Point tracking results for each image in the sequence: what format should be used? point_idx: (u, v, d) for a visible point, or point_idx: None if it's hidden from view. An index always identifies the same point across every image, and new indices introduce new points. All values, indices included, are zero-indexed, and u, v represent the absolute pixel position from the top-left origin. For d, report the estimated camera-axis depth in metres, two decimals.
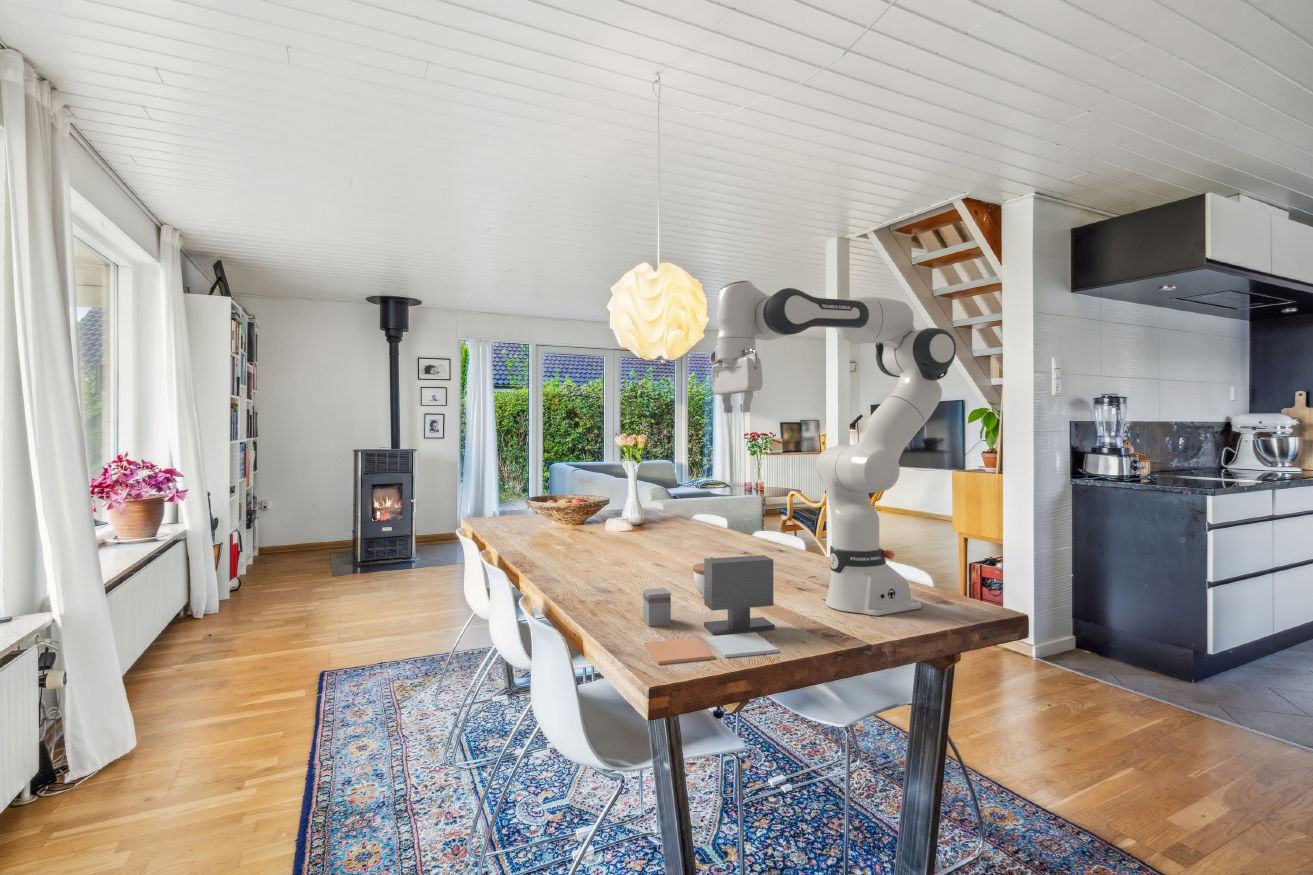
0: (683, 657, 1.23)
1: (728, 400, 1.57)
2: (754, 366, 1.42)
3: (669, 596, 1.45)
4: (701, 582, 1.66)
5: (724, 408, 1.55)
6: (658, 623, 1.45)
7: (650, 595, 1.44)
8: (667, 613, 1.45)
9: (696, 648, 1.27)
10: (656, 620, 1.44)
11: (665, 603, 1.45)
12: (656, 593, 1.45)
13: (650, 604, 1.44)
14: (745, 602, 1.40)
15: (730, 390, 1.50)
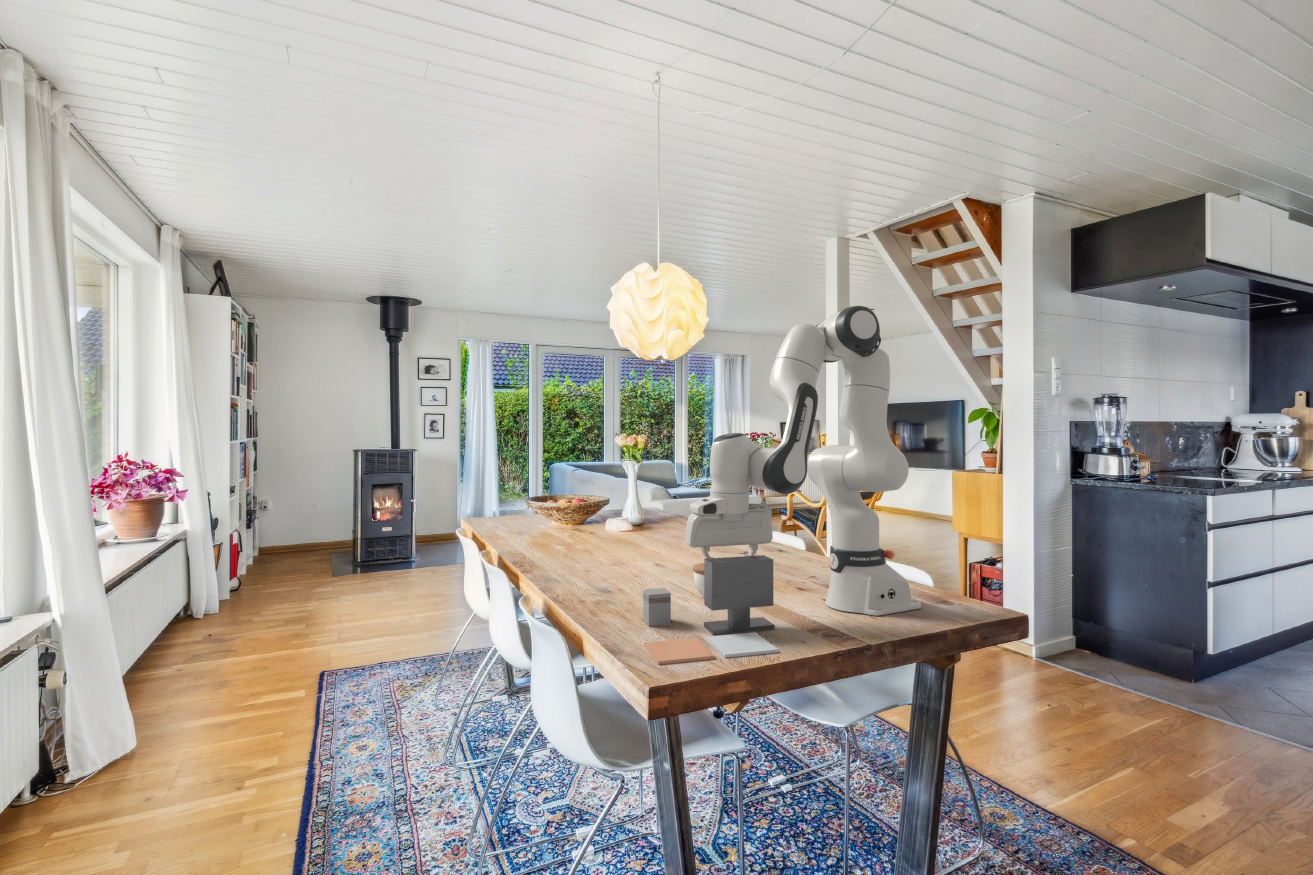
0: (683, 657, 1.23)
1: None
2: None
3: (669, 596, 1.45)
4: (701, 582, 1.66)
5: None
6: (658, 623, 1.45)
7: (650, 595, 1.44)
8: (667, 613, 1.45)
9: (696, 648, 1.27)
10: (656, 620, 1.44)
11: (665, 603, 1.45)
12: (656, 593, 1.45)
13: (650, 604, 1.44)
14: (745, 602, 1.40)
15: (735, 543, 1.49)
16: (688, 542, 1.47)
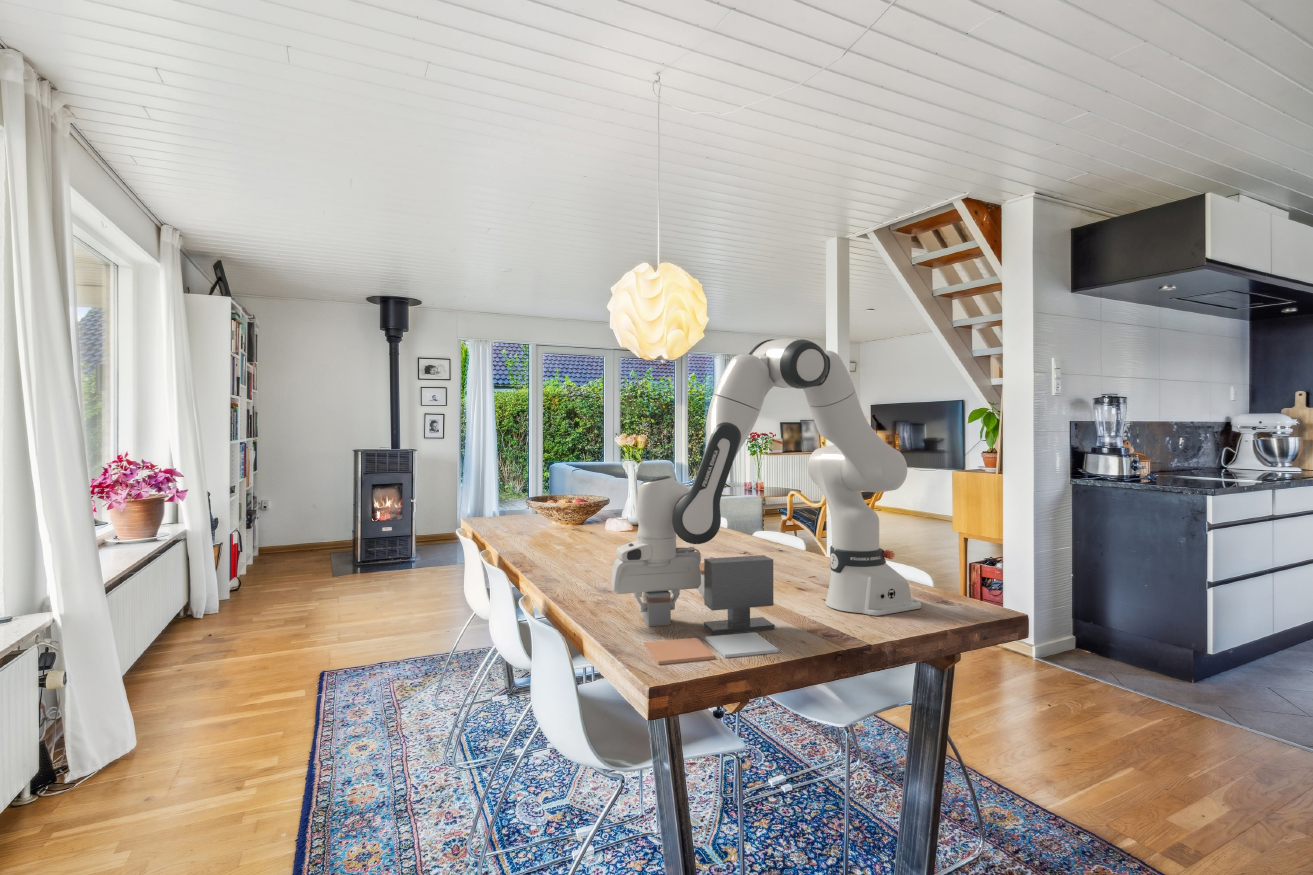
0: (683, 657, 1.23)
1: None
2: None
3: (669, 596, 1.45)
4: (701, 582, 1.66)
5: (643, 607, 1.45)
6: (658, 623, 1.45)
7: (650, 595, 1.44)
8: (667, 613, 1.45)
9: (696, 648, 1.27)
10: (656, 619, 1.44)
11: (664, 603, 1.45)
12: (656, 593, 1.45)
13: (650, 604, 1.44)
14: (745, 602, 1.40)
15: (661, 589, 1.45)
16: (613, 588, 1.44)
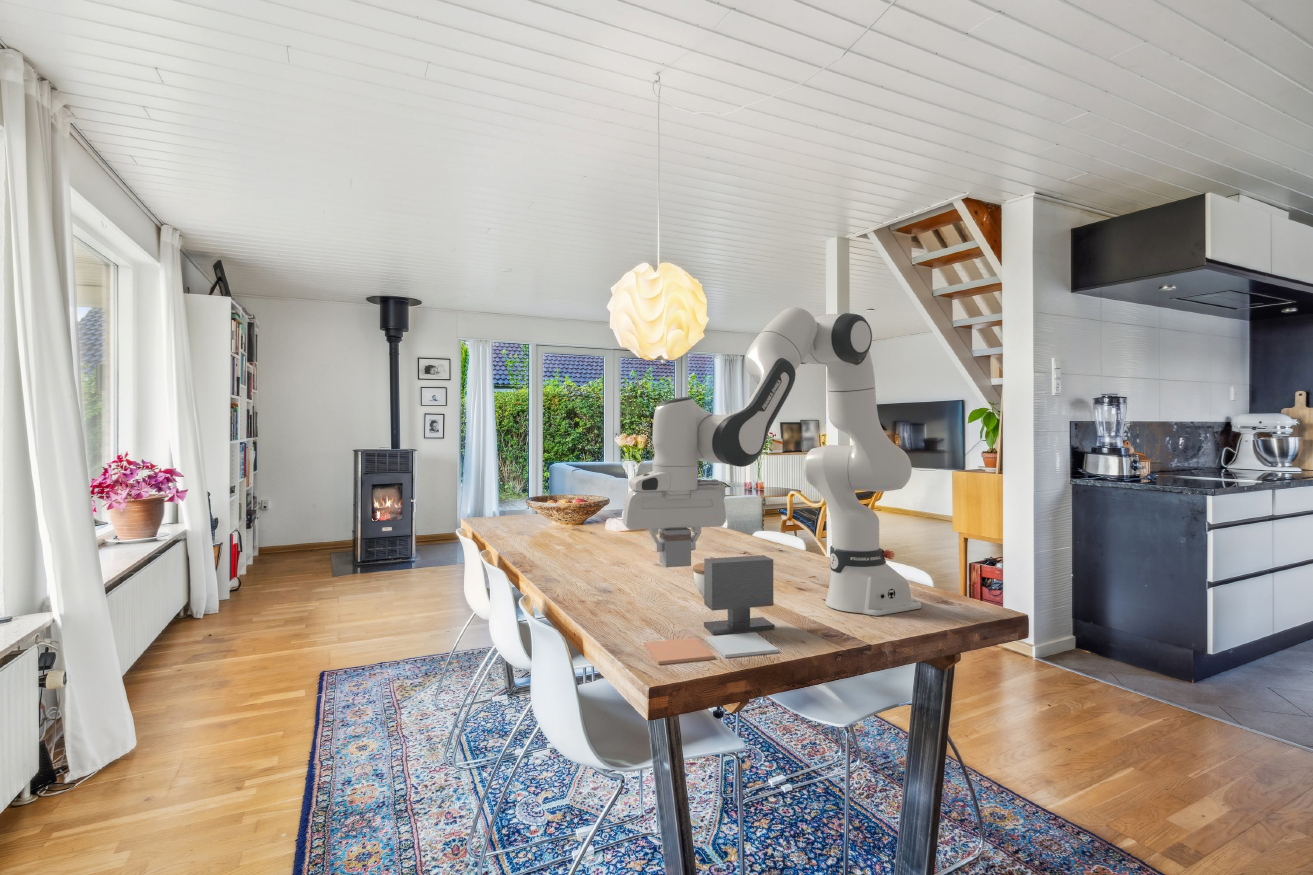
0: (683, 657, 1.23)
1: None
2: None
3: (689, 533, 1.27)
4: (701, 582, 1.66)
5: (660, 546, 1.27)
6: (677, 564, 1.26)
7: (668, 531, 1.26)
8: (687, 553, 1.27)
9: (696, 648, 1.27)
10: (674, 560, 1.26)
11: (684, 541, 1.26)
12: (674, 530, 1.27)
13: (668, 542, 1.26)
14: (745, 602, 1.40)
15: (680, 525, 1.27)
16: (625, 523, 1.25)
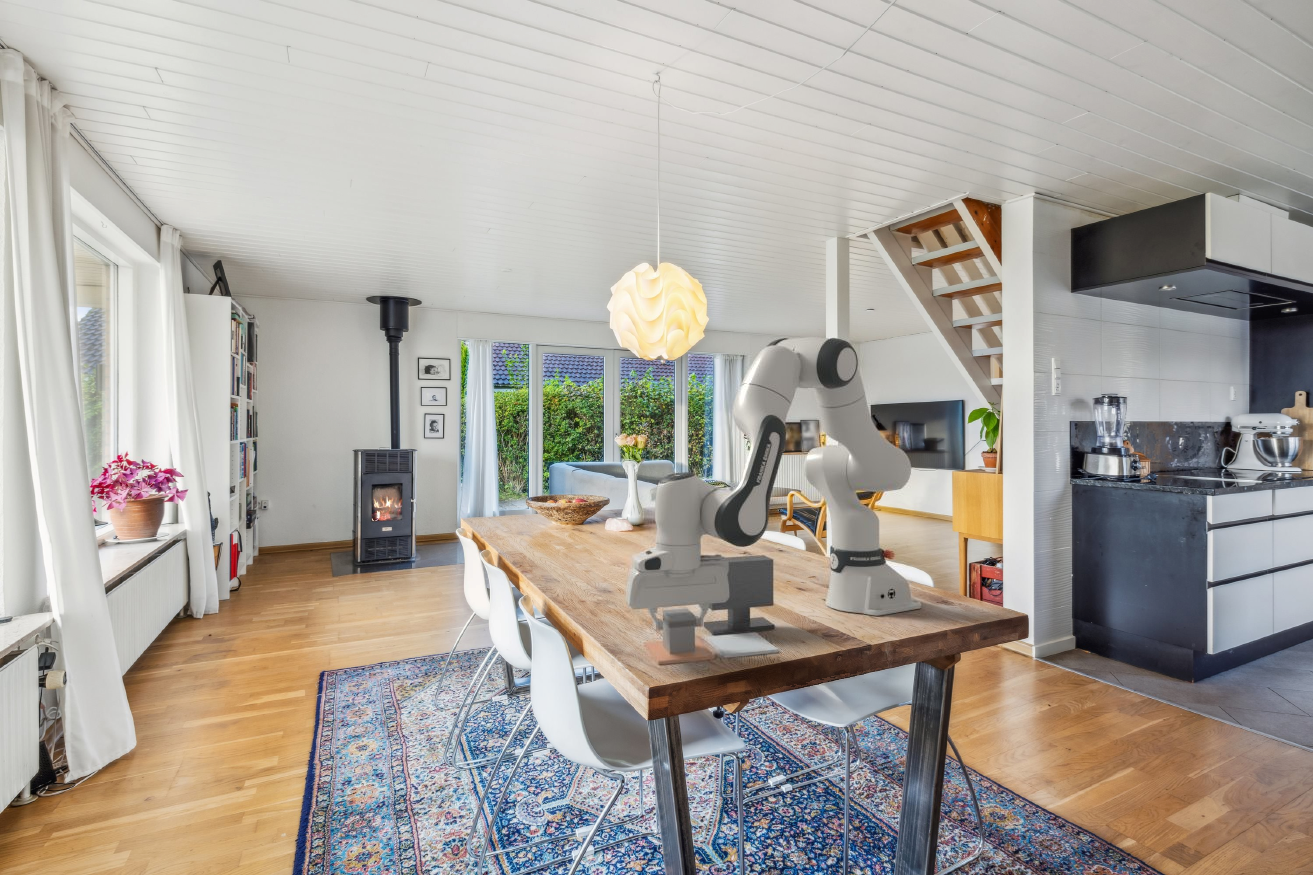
0: (683, 657, 1.23)
1: None
2: (726, 574, 1.30)
3: (693, 619, 1.26)
4: None
5: (659, 624, 1.25)
6: (680, 650, 1.25)
7: (671, 618, 1.24)
8: (691, 638, 1.25)
9: (696, 648, 1.27)
10: (678, 646, 1.25)
11: (688, 627, 1.25)
12: (678, 615, 1.26)
13: (671, 628, 1.24)
14: (745, 602, 1.40)
15: (684, 603, 1.26)
16: (628, 603, 1.24)
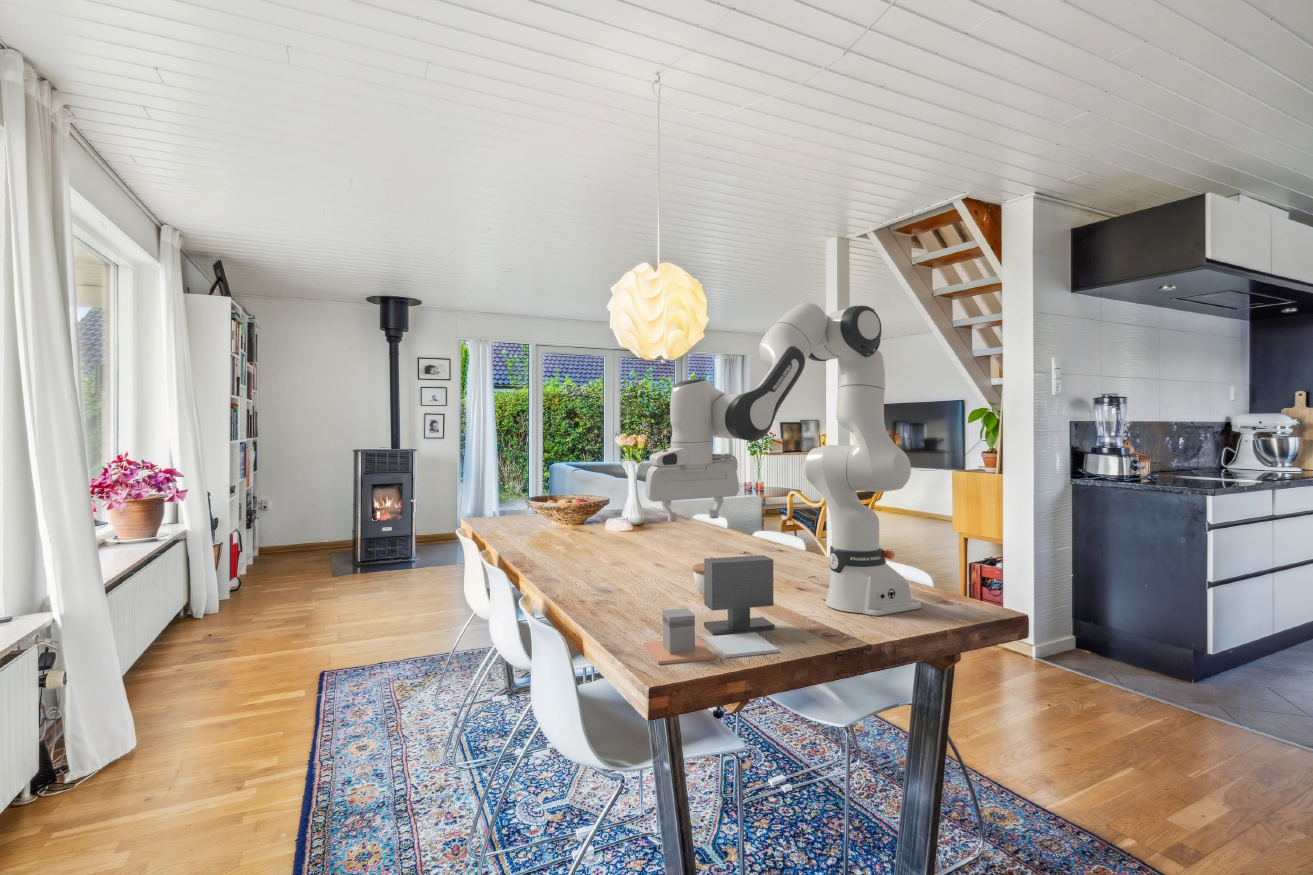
0: (683, 657, 1.23)
1: None
2: (735, 471, 1.42)
3: (693, 619, 1.26)
4: (701, 582, 1.66)
5: (673, 516, 1.38)
6: (680, 650, 1.25)
7: (671, 618, 1.24)
8: (691, 638, 1.25)
9: (696, 648, 1.27)
10: (678, 646, 1.25)
11: (688, 627, 1.25)
12: (678, 615, 1.26)
13: (671, 628, 1.24)
14: (745, 602, 1.40)
15: (698, 496, 1.39)
16: (648, 496, 1.37)
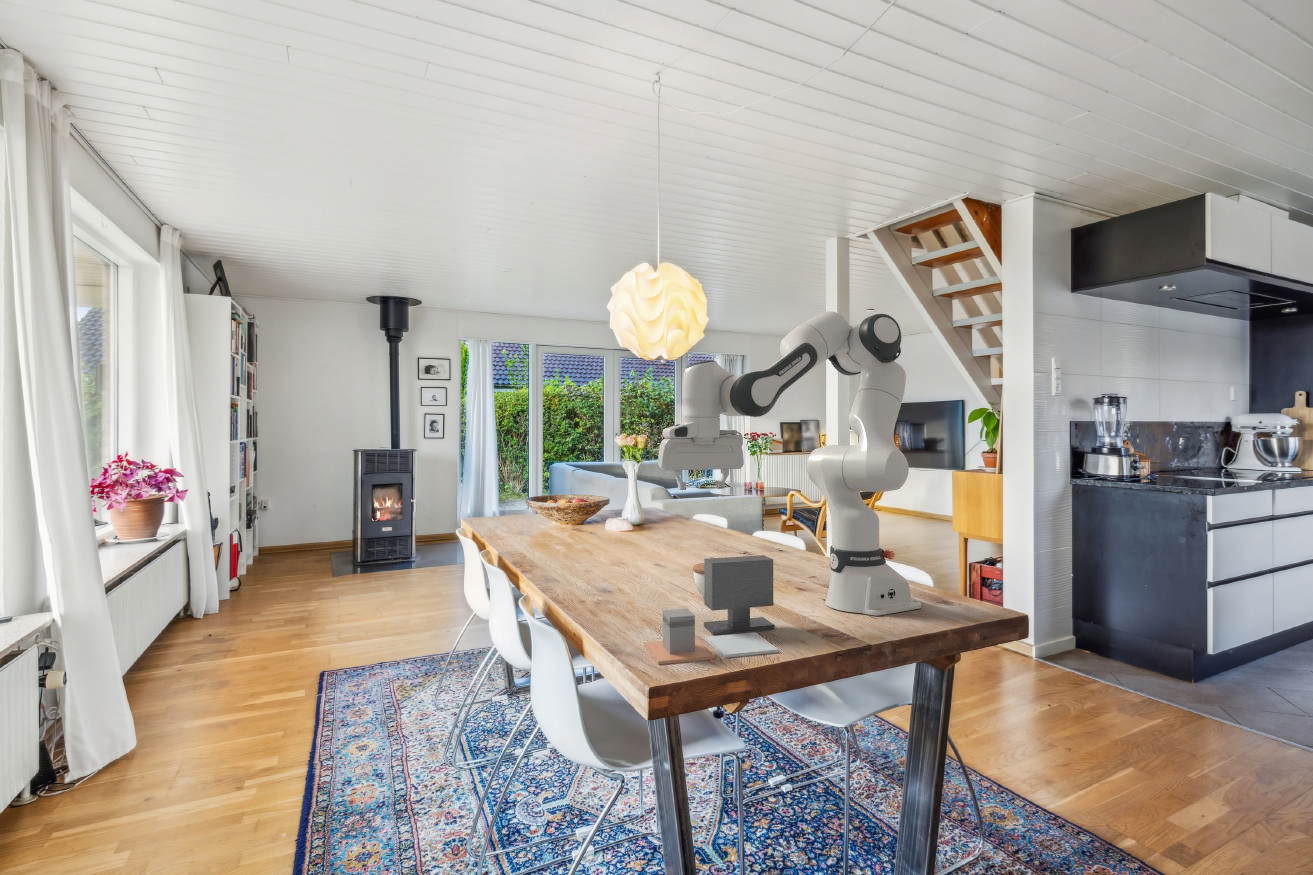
0: (683, 657, 1.23)
1: None
2: None
3: (693, 619, 1.26)
4: (701, 582, 1.66)
5: (683, 485, 1.51)
6: (680, 650, 1.25)
7: (671, 618, 1.24)
8: (691, 638, 1.25)
9: (696, 648, 1.27)
10: (678, 646, 1.25)
11: (688, 627, 1.25)
12: (678, 615, 1.26)
13: (671, 628, 1.24)
14: (745, 602, 1.40)
15: (706, 467, 1.52)
16: (660, 465, 1.50)
